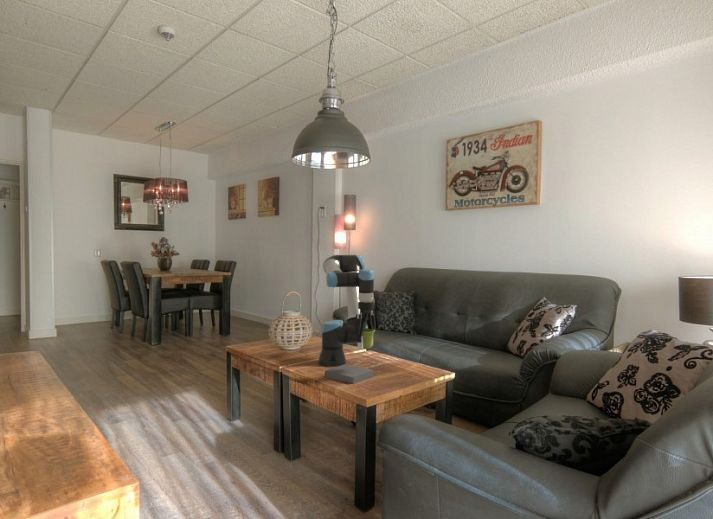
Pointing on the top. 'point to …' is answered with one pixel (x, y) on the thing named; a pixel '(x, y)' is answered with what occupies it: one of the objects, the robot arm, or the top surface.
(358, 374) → the board
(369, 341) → the plant pot
